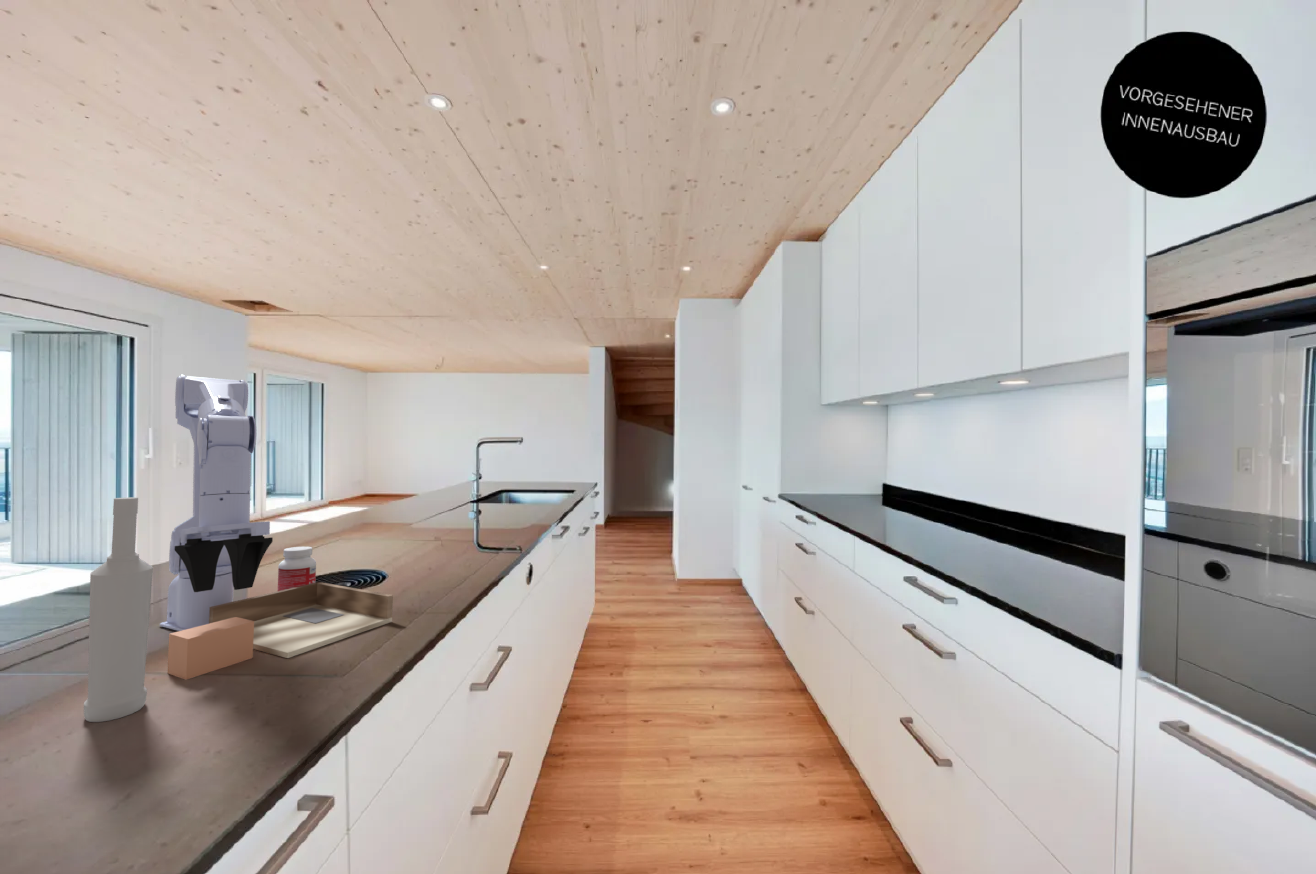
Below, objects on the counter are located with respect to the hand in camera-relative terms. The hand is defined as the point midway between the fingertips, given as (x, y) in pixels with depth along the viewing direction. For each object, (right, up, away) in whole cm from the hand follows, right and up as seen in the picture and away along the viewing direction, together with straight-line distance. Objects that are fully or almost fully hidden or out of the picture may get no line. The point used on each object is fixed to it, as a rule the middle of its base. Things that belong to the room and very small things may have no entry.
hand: (223, 589), depth 74 cm
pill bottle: (-9, -11, +27) cm, 31 cm away
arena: (+2, -11, +14) cm, 18 cm away
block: (-1, -11, -1) cm, 11 cm away
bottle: (-1, -10, -14) cm, 17 cm away
